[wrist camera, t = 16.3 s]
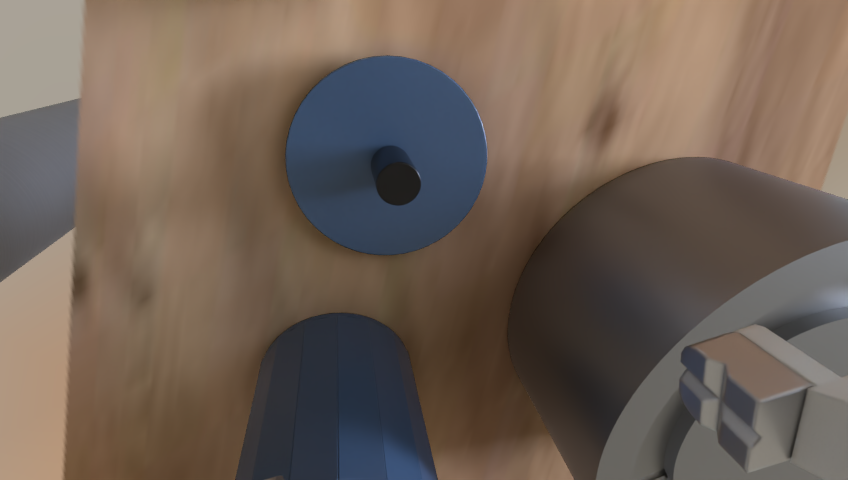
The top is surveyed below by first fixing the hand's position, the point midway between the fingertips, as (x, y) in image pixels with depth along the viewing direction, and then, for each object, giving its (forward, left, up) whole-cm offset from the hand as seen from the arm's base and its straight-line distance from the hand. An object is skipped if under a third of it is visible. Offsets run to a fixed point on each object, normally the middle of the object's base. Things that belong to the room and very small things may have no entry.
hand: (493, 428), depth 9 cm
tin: (-2, -17, -22) cm, 27 cm away
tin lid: (0, 0, -21) cm, 21 cm away
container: (+23, -10, -22) cm, 33 cm away
